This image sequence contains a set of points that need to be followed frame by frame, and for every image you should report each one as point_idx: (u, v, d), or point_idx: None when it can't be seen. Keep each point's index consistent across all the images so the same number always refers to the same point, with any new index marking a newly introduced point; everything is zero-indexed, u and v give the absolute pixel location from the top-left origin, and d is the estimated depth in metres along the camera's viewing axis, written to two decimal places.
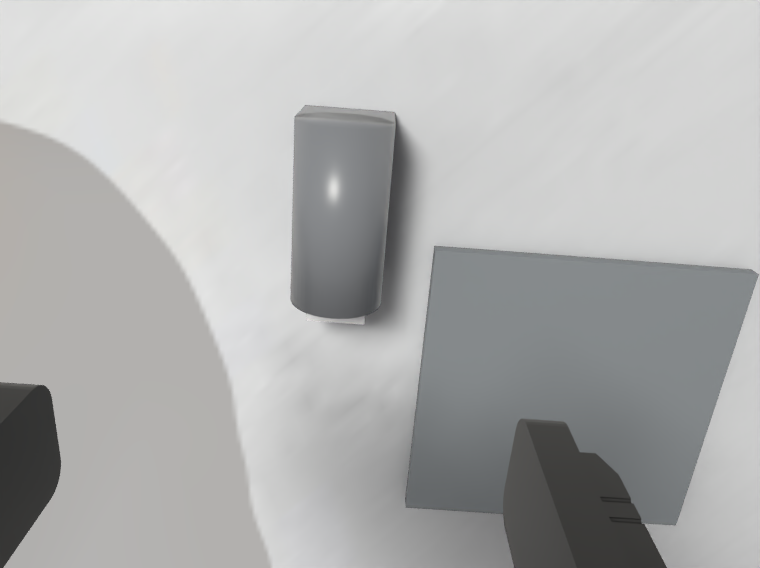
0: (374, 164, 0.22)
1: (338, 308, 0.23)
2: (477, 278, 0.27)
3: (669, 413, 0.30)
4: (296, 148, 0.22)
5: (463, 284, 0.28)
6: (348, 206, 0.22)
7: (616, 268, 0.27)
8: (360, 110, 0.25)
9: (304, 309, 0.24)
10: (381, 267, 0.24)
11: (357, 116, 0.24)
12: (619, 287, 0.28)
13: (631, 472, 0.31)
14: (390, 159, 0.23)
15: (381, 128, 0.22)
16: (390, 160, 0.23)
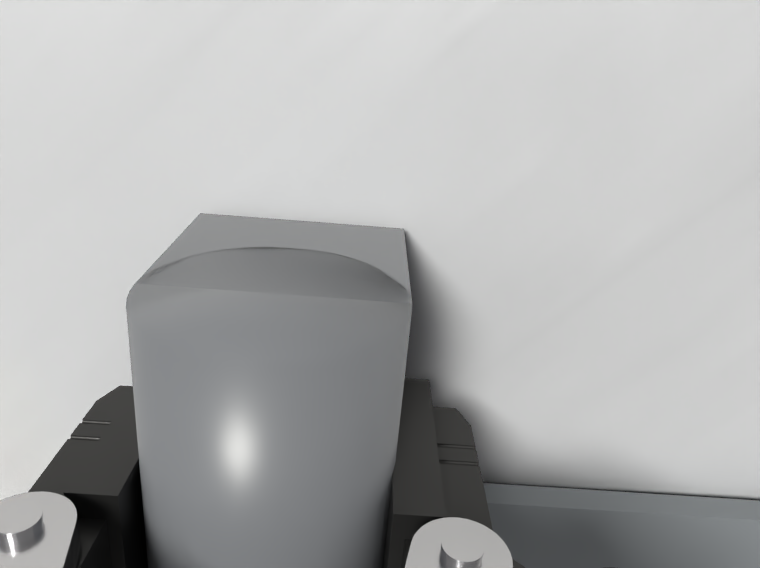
0: (351, 441, 0.07)
1: None
2: (571, 552, 0.13)
3: None
4: (133, 380, 0.08)
5: (543, 561, 0.13)
6: (278, 553, 0.08)
7: None
8: (325, 228, 0.11)
9: None
10: None
11: (312, 264, 0.09)
12: None
13: None
14: (397, 402, 0.08)
15: (372, 343, 0.07)
16: (397, 404, 0.08)
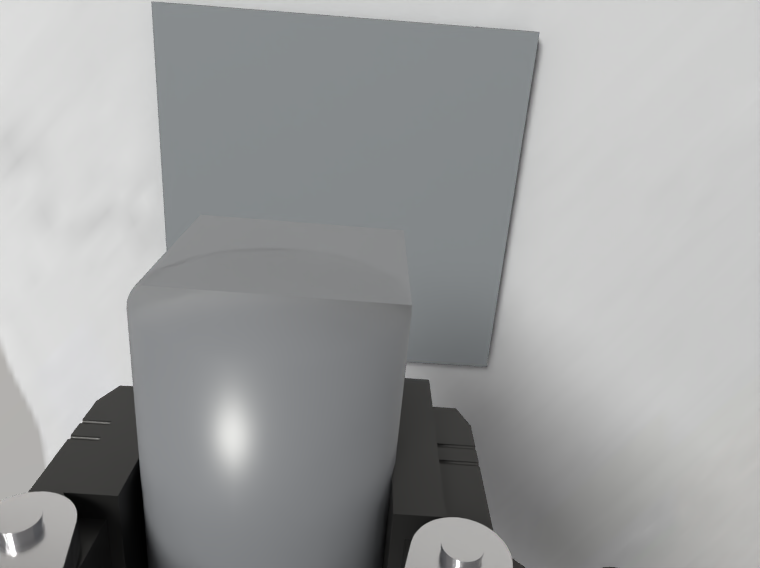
0: (352, 442, 0.07)
1: None
2: (207, 40, 0.23)
3: (460, 220, 0.26)
4: (133, 382, 0.08)
5: (192, 47, 0.23)
6: (278, 554, 0.08)
7: (370, 24, 0.23)
8: (325, 229, 0.11)
9: None
10: None
11: (312, 265, 0.09)
12: (377, 50, 0.23)
13: (426, 298, 0.27)
14: (397, 403, 0.08)
15: (372, 344, 0.07)
16: (397, 405, 0.08)
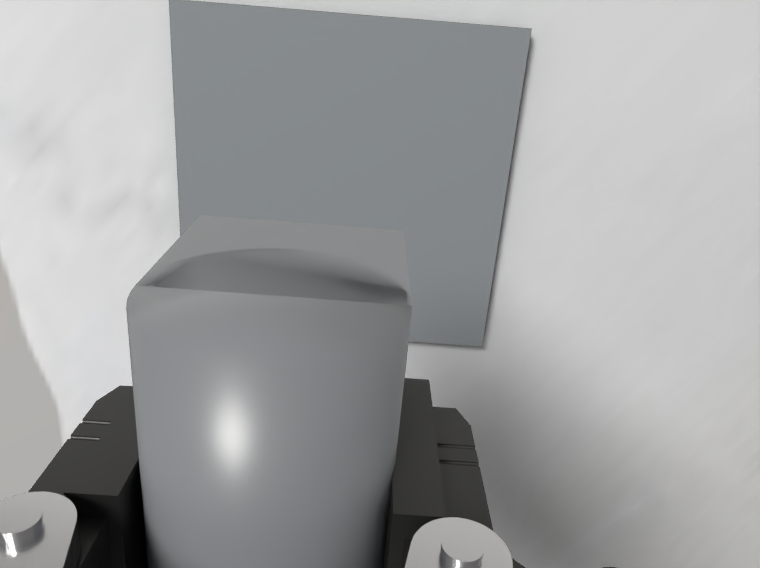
0: (352, 443, 0.07)
1: None
2: (220, 35, 0.25)
3: (456, 206, 0.27)
4: (133, 382, 0.08)
5: (206, 42, 0.25)
6: (278, 555, 0.08)
7: (373, 21, 0.24)
8: (325, 230, 0.11)
9: None
10: None
11: (312, 266, 0.09)
12: (379, 45, 0.25)
13: (425, 280, 0.29)
14: (397, 404, 0.08)
15: (372, 345, 0.07)
16: (397, 406, 0.08)
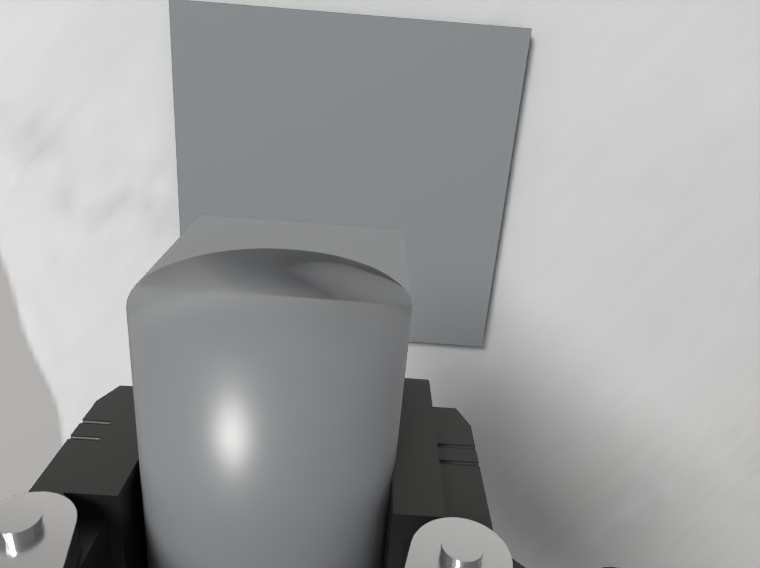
0: (352, 443, 0.07)
1: None
2: (220, 35, 0.25)
3: (456, 206, 0.27)
4: (133, 382, 0.08)
5: (206, 42, 0.25)
6: (278, 555, 0.08)
7: (373, 21, 0.24)
8: (325, 230, 0.11)
9: None
10: None
11: (312, 266, 0.09)
12: (379, 45, 0.25)
13: (425, 280, 0.29)
14: (397, 404, 0.08)
15: (372, 345, 0.07)
16: (397, 406, 0.08)
